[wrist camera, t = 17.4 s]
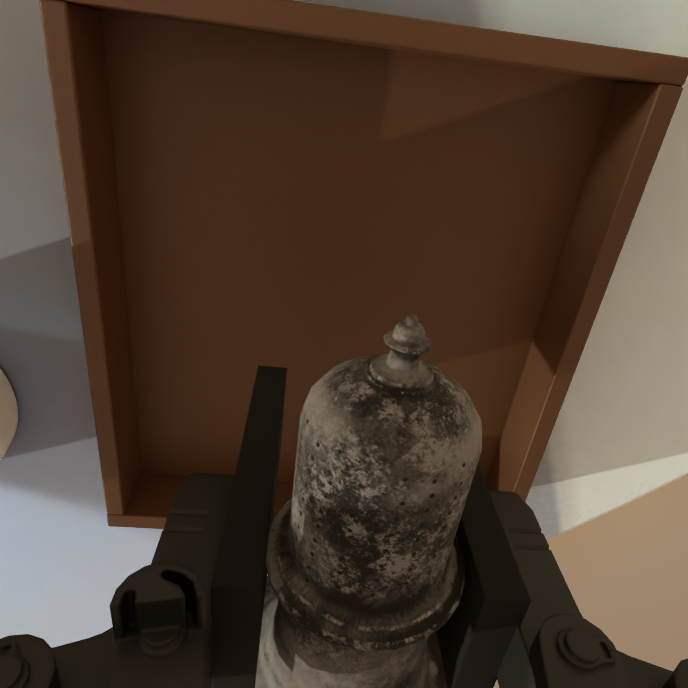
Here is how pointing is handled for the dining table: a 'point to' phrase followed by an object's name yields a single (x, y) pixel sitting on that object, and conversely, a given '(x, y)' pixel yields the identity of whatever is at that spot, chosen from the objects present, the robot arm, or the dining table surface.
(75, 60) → the tray
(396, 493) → the salt shaker
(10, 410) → the candle holder
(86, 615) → the dining table surface
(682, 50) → the dining table surface
